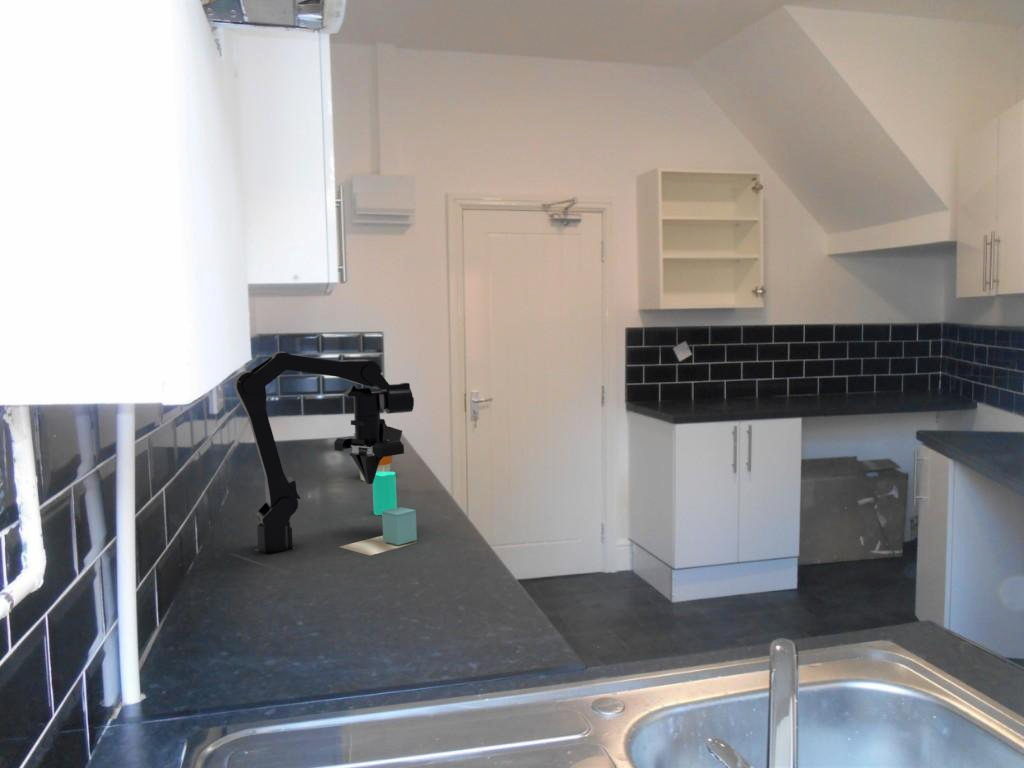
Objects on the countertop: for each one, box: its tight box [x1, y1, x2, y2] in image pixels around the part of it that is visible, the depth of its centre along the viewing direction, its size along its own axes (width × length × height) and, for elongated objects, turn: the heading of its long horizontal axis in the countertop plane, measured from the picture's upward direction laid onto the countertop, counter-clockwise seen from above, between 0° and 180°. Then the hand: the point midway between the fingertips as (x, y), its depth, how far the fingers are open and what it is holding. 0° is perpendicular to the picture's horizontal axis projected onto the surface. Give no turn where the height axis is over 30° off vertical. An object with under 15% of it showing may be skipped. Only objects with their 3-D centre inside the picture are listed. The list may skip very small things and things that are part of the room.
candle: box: [372, 467, 398, 516], centre depth 209 cm, size 6×6×12 cm
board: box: [339, 535, 418, 556], centre depth 176 cm, size 13×11×1 cm
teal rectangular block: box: [381, 506, 418, 545], centre depth 177 cm, size 5×5×7 cm
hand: (370, 483), depth 183 cm, fingers closed
